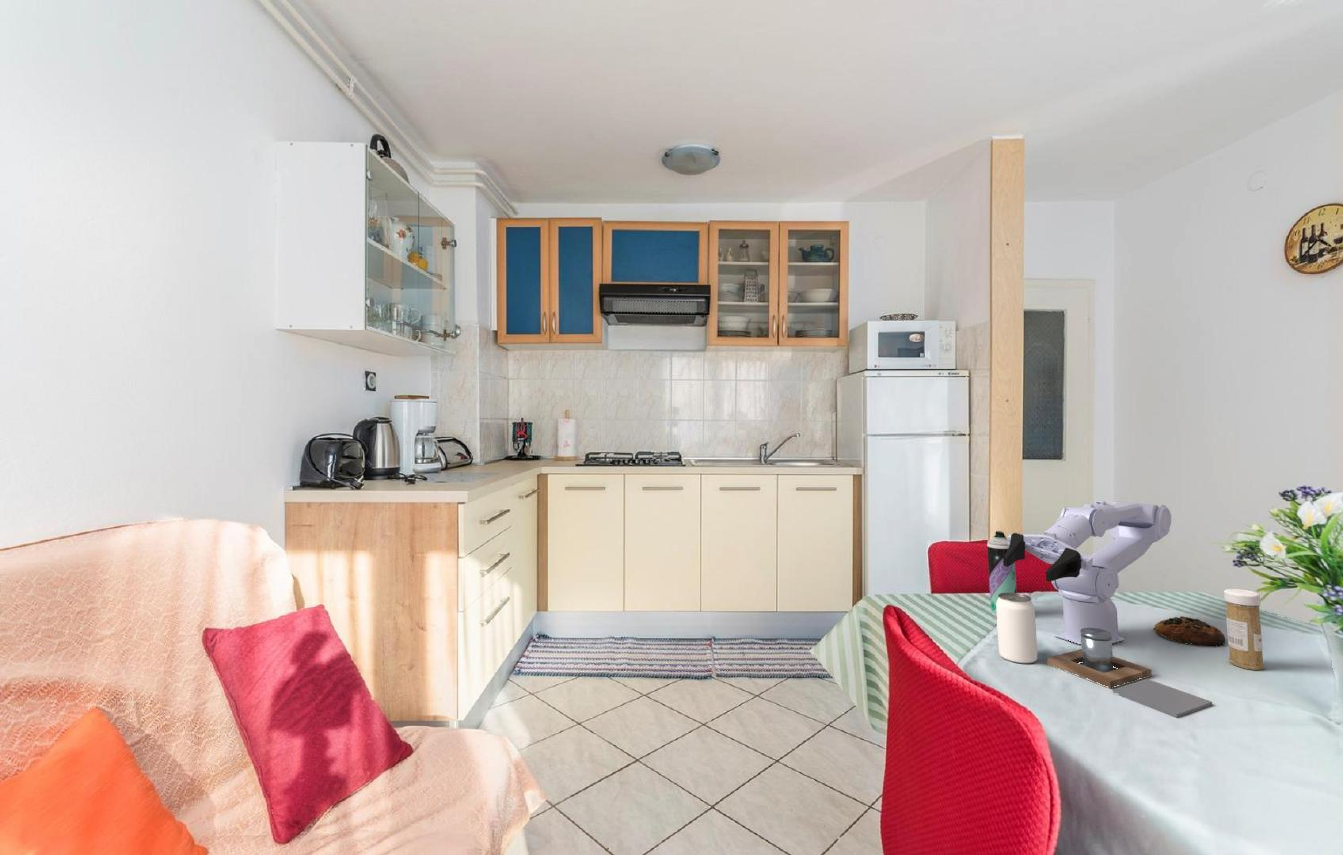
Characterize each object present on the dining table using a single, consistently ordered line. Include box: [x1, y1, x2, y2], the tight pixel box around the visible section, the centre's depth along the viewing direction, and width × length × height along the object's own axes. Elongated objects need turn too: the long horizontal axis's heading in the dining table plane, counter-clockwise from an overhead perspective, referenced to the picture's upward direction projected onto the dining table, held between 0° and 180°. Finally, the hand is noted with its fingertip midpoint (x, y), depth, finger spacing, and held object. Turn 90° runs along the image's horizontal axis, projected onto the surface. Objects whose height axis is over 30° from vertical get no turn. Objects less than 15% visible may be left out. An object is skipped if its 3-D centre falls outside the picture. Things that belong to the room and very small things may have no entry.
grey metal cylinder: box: [1080, 628, 1114, 673], centre depth 101 cm, size 4×4×7 cm
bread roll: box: [1152, 615, 1226, 648], centre depth 114 cm, size 11×11×5 cm
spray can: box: [986, 530, 1017, 618], centre depth 131 cm, size 6×6×20 cm
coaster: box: [1112, 678, 1213, 719], centre depth 90 cm, size 9×9×1 cm
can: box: [996, 592, 1038, 665], centre depth 108 cm, size 6×6×12 cm
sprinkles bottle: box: [1223, 588, 1265, 671], centre depth 100 cm, size 5×5×14 cm
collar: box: [1046, 648, 1153, 689], centre depth 101 cm, size 11×11×1 cm
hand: (1025, 569), depth 105 cm, fingers open, 7 cm apart
